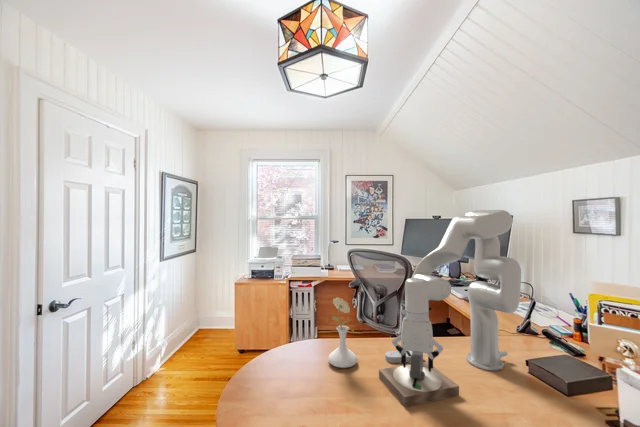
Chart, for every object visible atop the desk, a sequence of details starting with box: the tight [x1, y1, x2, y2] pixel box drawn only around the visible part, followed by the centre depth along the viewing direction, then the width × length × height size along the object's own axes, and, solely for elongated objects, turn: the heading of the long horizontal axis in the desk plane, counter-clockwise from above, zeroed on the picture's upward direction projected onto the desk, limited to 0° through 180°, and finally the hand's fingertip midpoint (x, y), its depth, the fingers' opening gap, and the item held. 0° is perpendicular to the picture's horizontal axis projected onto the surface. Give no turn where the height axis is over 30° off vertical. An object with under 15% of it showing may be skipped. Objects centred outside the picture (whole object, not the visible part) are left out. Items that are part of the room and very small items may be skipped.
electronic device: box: [384, 350, 413, 364], centre depth 113 cm, size 5×10×15 cm
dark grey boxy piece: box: [409, 351, 425, 387], centre depth 94 cm, size 10×5×7 cm, turn 153°
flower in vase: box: [327, 297, 358, 369], centre depth 111 cm, size 13×11×25 cm
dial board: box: [378, 361, 460, 408], centre depth 95 cm, size 20×16×3 cm
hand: (416, 367), depth 95 cm, fingers open, 7 cm apart
